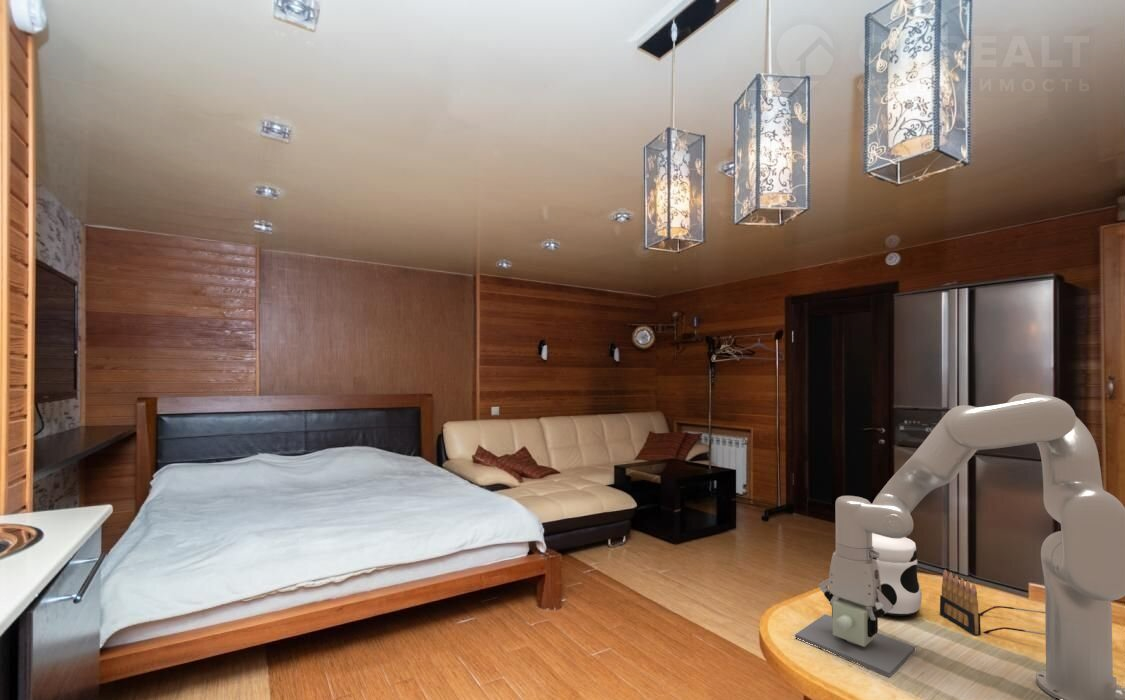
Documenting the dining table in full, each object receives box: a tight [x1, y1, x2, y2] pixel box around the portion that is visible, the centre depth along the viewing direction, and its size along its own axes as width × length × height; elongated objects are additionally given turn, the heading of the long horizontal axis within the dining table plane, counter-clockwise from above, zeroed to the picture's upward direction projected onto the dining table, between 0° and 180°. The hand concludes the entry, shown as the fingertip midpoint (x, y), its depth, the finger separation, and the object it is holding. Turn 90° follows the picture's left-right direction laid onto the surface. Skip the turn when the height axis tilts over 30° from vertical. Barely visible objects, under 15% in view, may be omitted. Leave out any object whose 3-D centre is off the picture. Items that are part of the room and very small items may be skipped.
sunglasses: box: [980, 605, 1046, 636], centre depth 129 cm, size 14×16×5 cm
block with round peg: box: [833, 598, 876, 647], centre depth 121 cm, size 10×7×7 cm
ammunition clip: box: [939, 569, 982, 636], centre depth 132 cm, size 11×2×12 cm, turn 3°
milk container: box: [872, 533, 923, 617], centre depth 142 cm, size 17×17×18 cm
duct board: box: [794, 613, 916, 678], centre depth 122 cm, size 20×16×6 cm
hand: (854, 628), depth 122 cm, fingers closed on block with round peg, 6 cm apart
